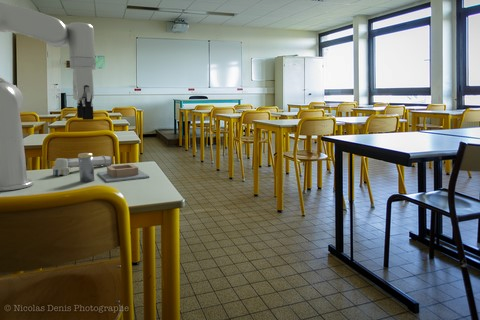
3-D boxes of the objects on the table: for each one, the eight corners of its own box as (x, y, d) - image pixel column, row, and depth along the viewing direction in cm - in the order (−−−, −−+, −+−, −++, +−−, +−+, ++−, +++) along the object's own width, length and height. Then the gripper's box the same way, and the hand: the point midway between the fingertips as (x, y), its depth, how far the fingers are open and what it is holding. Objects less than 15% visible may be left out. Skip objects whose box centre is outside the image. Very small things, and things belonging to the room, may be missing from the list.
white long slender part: (113, 156, 158) (58, 156, 136) (113, 172, 158) (58, 175, 136) (104, 155, 160) (48, 155, 138) (103, 171, 161) (48, 174, 139)
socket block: (106, 182, 128) (106, 173, 127) (97, 173, 141) (96, 165, 141) (149, 177, 134) (148, 168, 134) (136, 169, 148) (136, 161, 148)
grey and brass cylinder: (81, 182, 127) (79, 155, 126) (79, 180, 131) (77, 153, 130) (95, 181, 130) (93, 154, 128) (93, 178, 133) (91, 152, 132)
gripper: (66, 65, 130) (69, 117, 133) (74, 61, 116) (76, 120, 118) (90, 66, 134) (92, 117, 137) (100, 63, 119) (103, 120, 122)
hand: (85, 118), depth 128 cm, fingers open, 9 cm apart
